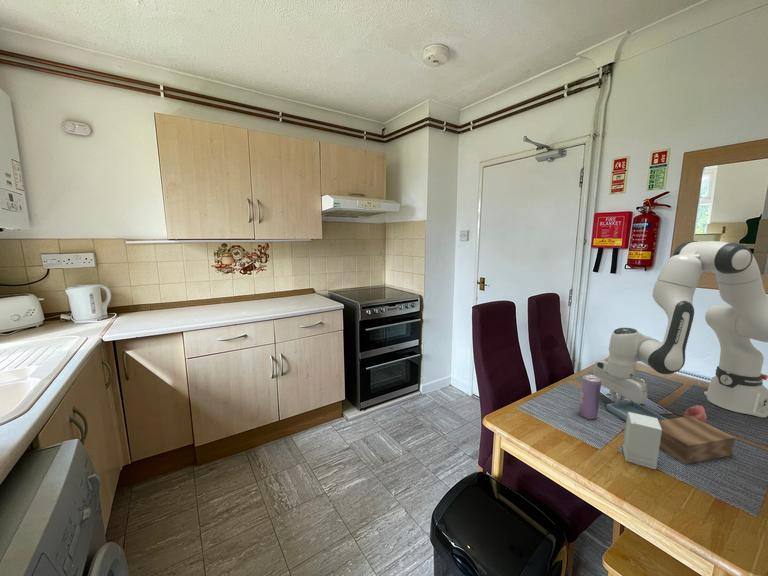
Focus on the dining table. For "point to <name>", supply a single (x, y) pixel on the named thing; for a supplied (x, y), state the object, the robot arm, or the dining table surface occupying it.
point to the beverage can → (589, 396)
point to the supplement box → (642, 440)
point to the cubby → (694, 440)
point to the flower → (696, 413)
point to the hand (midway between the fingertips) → (616, 402)
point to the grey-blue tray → (631, 410)
